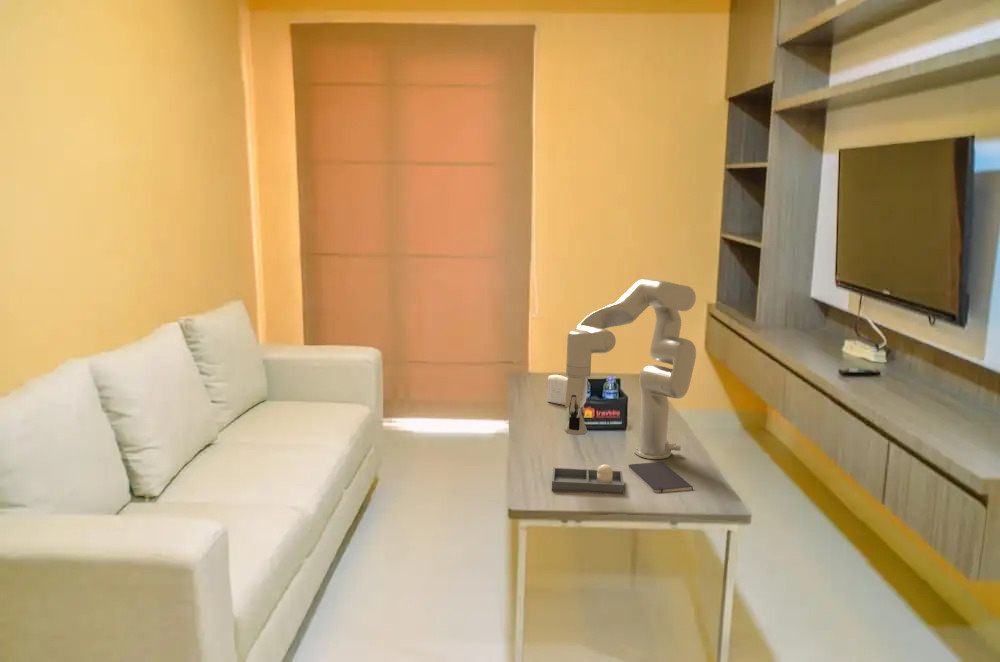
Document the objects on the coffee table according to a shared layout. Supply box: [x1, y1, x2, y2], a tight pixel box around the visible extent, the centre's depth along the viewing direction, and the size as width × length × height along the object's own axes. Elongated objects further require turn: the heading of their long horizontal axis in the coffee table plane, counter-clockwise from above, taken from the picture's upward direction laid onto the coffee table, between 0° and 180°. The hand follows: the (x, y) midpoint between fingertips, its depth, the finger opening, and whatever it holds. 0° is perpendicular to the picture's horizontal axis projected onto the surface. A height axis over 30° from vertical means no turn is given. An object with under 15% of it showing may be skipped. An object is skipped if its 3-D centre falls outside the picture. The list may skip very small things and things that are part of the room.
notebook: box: [628, 461, 693, 494], centre depth 230 cm, size 13×2×21 cm
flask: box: [564, 406, 588, 436], centre depth 224 cm, size 7×7×10 cm
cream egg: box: [596, 463, 614, 484], centre depth 223 cm, size 5×5×6 cm
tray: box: [551, 467, 625, 495], centre depth 224 cm, size 22×11×3 cm, turn 84°
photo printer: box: [546, 374, 568, 406], centre depth 310 cm, size 10×4×12 cm, turn 57°
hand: (576, 426), depth 224 cm, fingers closed on flask, 4 cm apart
